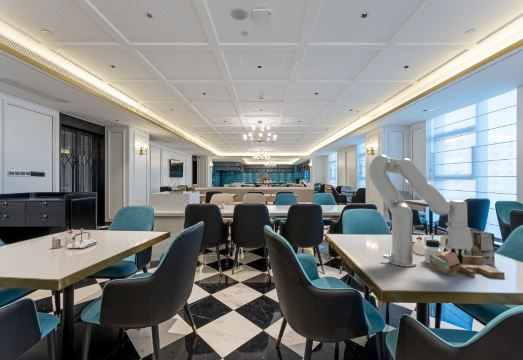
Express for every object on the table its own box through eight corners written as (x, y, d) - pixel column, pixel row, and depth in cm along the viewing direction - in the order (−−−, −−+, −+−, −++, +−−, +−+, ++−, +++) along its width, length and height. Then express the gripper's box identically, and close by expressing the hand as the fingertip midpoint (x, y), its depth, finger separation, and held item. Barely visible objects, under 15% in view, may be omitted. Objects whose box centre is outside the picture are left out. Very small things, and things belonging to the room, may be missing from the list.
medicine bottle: (441, 265, 133) (441, 242, 133) (425, 263, 136) (424, 240, 137) (440, 261, 139) (440, 239, 139) (424, 259, 142) (424, 238, 143)
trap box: (446, 275, 117) (445, 262, 117) (430, 266, 131) (429, 254, 131) (504, 278, 114) (504, 264, 114) (481, 268, 128) (481, 256, 128)
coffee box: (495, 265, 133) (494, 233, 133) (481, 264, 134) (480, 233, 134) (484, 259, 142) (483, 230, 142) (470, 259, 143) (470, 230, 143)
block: (449, 266, 123) (445, 256, 123) (442, 263, 128) (439, 253, 128) (459, 263, 123) (455, 253, 123) (452, 260, 128) (448, 250, 128)
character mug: (463, 261, 138) (463, 237, 138) (452, 262, 137) (452, 238, 137) (446, 256, 149) (445, 234, 149) (435, 257, 148) (435, 234, 148)
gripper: (445, 226, 123) (446, 264, 122) (479, 226, 121) (480, 265, 121) (437, 223, 130) (437, 259, 130) (469, 224, 128) (469, 260, 128)
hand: (458, 262), depth 125 cm, fingers closed
